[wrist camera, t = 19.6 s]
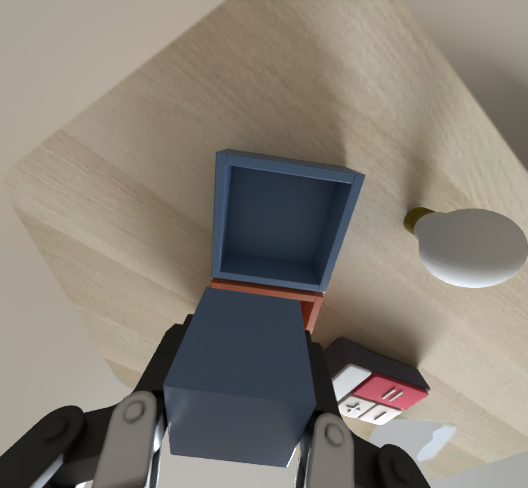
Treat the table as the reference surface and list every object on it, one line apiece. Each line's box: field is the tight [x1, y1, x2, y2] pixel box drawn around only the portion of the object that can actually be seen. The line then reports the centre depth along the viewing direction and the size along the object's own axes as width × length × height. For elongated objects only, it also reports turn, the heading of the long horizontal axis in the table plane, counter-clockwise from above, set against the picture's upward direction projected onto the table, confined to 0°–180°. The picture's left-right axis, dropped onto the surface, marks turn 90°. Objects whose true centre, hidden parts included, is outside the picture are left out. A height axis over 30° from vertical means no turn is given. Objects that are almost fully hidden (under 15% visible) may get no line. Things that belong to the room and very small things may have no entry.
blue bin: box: [211, 149, 365, 292], centre depth 21 cm, size 12×12×4 cm
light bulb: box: [404, 207, 528, 288], centre depth 18 cm, size 6×6×10 cm
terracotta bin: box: [211, 277, 324, 335], centre depth 26 cm, size 12×12×4 cm
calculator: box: [325, 338, 430, 425], centre depth 33 cm, size 11×4×15 cm
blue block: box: [163, 287, 316, 468], centre depth 9 cm, size 5×5×5 cm
